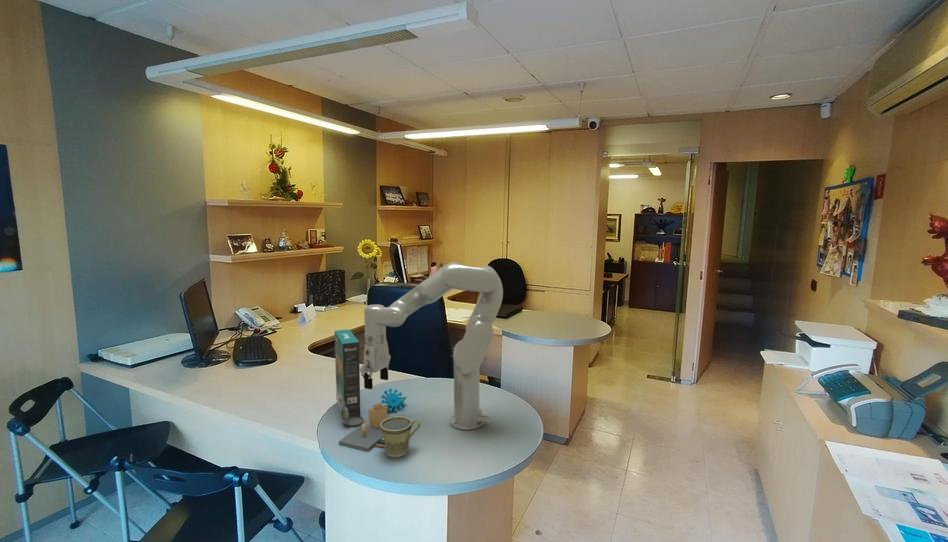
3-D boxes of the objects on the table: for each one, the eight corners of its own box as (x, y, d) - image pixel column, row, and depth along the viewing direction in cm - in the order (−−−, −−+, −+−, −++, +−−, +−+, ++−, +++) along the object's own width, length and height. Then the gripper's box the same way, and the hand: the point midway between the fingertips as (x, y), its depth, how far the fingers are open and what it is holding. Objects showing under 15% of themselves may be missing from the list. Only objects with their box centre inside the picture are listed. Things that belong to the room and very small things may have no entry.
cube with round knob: (387, 423, 158) (386, 403, 157) (380, 428, 154) (379, 409, 153) (376, 420, 160) (376, 401, 159) (369, 426, 156) (368, 407, 155)
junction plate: (398, 436, 148) (397, 421, 147) (378, 454, 137) (377, 437, 136) (361, 428, 154) (360, 413, 153) (338, 444, 143) (338, 428, 142)
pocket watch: (367, 420, 160) (366, 395, 159) (353, 430, 152) (352, 404, 151) (349, 417, 163) (348, 392, 162) (335, 427, 155) (334, 401, 154)
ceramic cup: (384, 463, 131) (383, 433, 130) (378, 448, 140) (377, 419, 139) (424, 454, 137) (424, 424, 135) (416, 440, 146) (415, 412, 145)
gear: (385, 412, 164) (379, 388, 169) (379, 418, 167) (374, 395, 173) (410, 408, 170) (404, 386, 176) (405, 415, 174) (399, 392, 179)
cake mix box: (360, 417, 163) (359, 342, 160) (344, 420, 160) (342, 343, 157) (350, 397, 182) (349, 329, 179) (336, 399, 180) (334, 330, 177)
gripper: (369, 346, 144) (370, 394, 146) (397, 334, 160) (398, 377, 162) (351, 343, 147) (353, 390, 149) (380, 332, 163) (381, 374, 165)
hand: (376, 383), depth 155 cm, fingers open, 9 cm apart
